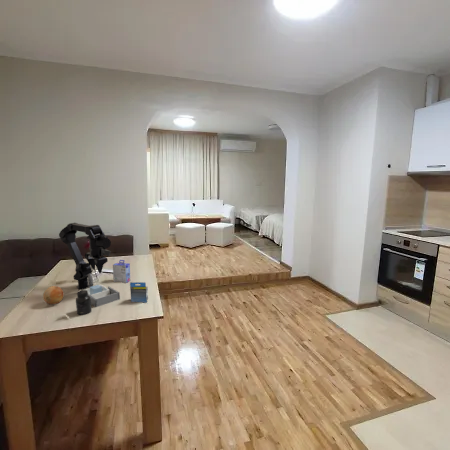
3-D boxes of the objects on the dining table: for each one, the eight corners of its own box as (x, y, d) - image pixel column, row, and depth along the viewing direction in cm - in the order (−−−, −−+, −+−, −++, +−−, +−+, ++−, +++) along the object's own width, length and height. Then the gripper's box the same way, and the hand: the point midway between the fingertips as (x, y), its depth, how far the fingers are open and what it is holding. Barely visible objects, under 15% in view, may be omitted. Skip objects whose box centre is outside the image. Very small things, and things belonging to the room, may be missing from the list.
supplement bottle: (80, 310, 148) (78, 289, 146) (93, 310, 148) (92, 288, 146) (74, 317, 141) (72, 294, 139) (88, 316, 142) (86, 294, 140)
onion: (40, 308, 150) (38, 290, 148) (48, 300, 160) (46, 283, 158) (60, 306, 152) (58, 289, 150) (67, 299, 161) (65, 282, 160)
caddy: (80, 294, 167) (79, 275, 165) (99, 289, 175) (98, 271, 173) (90, 301, 157) (89, 282, 155) (110, 295, 165) (108, 277, 163)
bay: (86, 301, 158) (85, 293, 158) (109, 294, 168) (109, 286, 167) (95, 308, 150) (95, 300, 149) (119, 300, 160) (119, 292, 159)
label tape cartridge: (148, 300, 161) (147, 279, 159) (146, 303, 157) (145, 282, 155) (132, 300, 161) (131, 279, 158) (130, 303, 157) (129, 282, 155)
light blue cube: (90, 295, 165) (89, 287, 164) (98, 292, 168) (98, 284, 167) (93, 297, 161) (93, 289, 161) (102, 294, 165) (101, 286, 164)
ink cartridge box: (131, 280, 190) (129, 259, 188) (126, 283, 185) (125, 262, 182) (117, 279, 192) (116, 259, 190) (113, 282, 187) (111, 261, 184)
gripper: (115, 246, 167) (116, 271, 170) (101, 241, 179) (103, 264, 182) (96, 250, 159) (98, 276, 162) (83, 244, 171) (85, 268, 174)
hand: (96, 271), depth 170 cm, fingers open, 9 cm apart
